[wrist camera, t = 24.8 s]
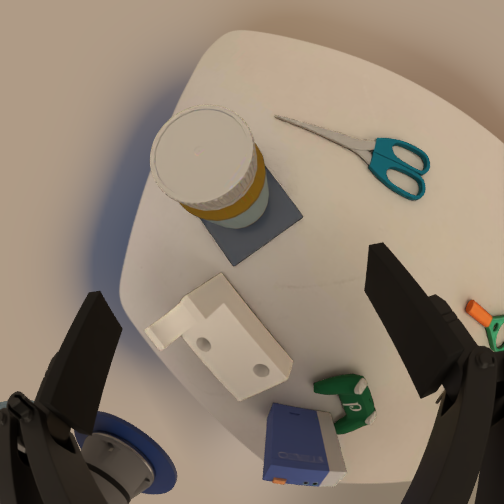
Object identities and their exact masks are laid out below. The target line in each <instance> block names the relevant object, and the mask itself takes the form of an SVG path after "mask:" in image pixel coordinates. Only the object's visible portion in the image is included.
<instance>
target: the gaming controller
mask: <svg viewBox="0 0 504 504" xmlns="http://www.w3.org/2000/svg"><path fill="white" fill-rule="evenodd" d="M314 392H315V393H319V394H324V395H335V394H338V395H339V398H340V400H341V403H342V405H343V408H344V410H345V413H346V416H344V417H343V418H341V419H339V420H338V421H336V422H335V423H334V427H335V430H336V434H338V435H339V434H345V433H348V432H351V431H354V430H356V429H358V428H360V427H362V426H365V425H371V424H372V423H373V422H374V420H375V418H376V409H375V407H374V403H373V399H372V396H371V393H370V390H369V388H368V386H367V381H366V379H365V378H364V376H360V375H356V374H345V375H339V376H335V377H330V378H327V379H324V380H321V381H318V382H316V383H314Z"/></svg>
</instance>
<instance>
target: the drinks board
mask: <svg viewBox="0 0 504 504" xmlns="http://www.w3.org/2000/svg"><path fill="white" fill-rule="evenodd" d="M265 169H266V176H267V183H268V191H269V197H268V204H267V207H266V209H265V211H264V213H263V215H262V216H261V217H260V218H259V219H258V220H257V221H256V222H254V223H253V224H251V225H249V226H247V227H243V228H238V229H234V228H226V227H223V226H220V225H217V224H215V223H212V222H209V221H207V220H204V219H202V218H200V219H201V221H202V222H203V223H204V225H205V226H206V228H207V229H208V231H209V232H210V234H211V235H212V236H213V238H214V239H215V241H216V242H217V244H218V245H219V247H220V248H221V249H222V251H223V252H224V254H225V255H226V257H227V258H228V259H229V261H230V262H231V264H232V265H233V266H236V265H237V264H238V263H240V262H241V261H243V260H244V259H245V258H247V257H248V256H250V255H251V254H252V253H254V252H255V251H257V250H258V249H259V248H261V247H262V246H264V245H265V244H266V243H268V242H269V241H271V240H272V239H273V238H275V237H276V236H278V235H279V234H280V233H282V232H283V231H285V230H286V229H287V228H289V227H290V226H291V225H293V224H294V223H296V222H297V221H298V220H300V219H301V218H303V216H302V214H301V213H300V211H299V210H298V209H297V207H296V206H295V205H294V203H293V202H292V201H291V199H290V198H289V197H288V195H287V194H286V192H285V191H284V190H283V189H282V187H281V186H280V185H279V183H278V182H277V181H276V179H275V178H274V177H273V175H272V174H271V173H270V172H269V170H268V169H267V168H266V166H265Z"/></svg>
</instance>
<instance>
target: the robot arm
mask: <svg viewBox="0 0 504 504" xmlns="http://www.w3.org/2000/svg"><path fill="white" fill-rule="evenodd" d="M364 291H365V293H366V295H367V296H368V298H369V300H370V301H371V303H372V305H373V307H374V308H375V310H376V312H377V314H378V315H379V317H380V319H381V321H382V323H383V325H384V326H385V328H386V330H387V332H388V334H389V336H390V337H391V339H392V341H393V343H394V345H395V347H396V349H397V351H398V353H399V355H400V357H401V359H402V361H403V363H404V365H405V367H406V369H407V371H408V373H409V375H410V377H411V379H412V381H413V383H414V385H415V388H416V390H417V392H418V394H419V396H420V398H421V399H422V398H424V397H426V396H428V395H430V394H432V393H435V392H436V391H437V390H438V389H439V387H440V386H441V384H442V385H443V387H444V389H445V390H444V391H443V393H442V394H441V395H440V396H439V398H438V399H437V401H436V403H437V404H438V403H439V402H440V400H441V402H440V406H439V410H438V413H437V417H436V420H435V423H434V427H433V430H432V433H431V436H430V439H429V441H428V444H427V447H426V450H425V452H424V455H423V457H422V460H421V462H420V465H419V467H418V469H417V472H416V474H415V476H414V478H413V480H412V483H411V485H410V487H409V489H408V491H407V493H406V495H405V497H404V498H403V500H402V502H401V504H468V501H469V499H470V496H471V494H472V491H473V488H474V486H475V483H476V480H477V477H478V474H479V471H480V474H479V481H478V488H477V493H476V499H475V504H504V351H498V352H493V351H492V350H491V349H490V348H487V347H485V346H478V345H477V344H476V342H475V341H474V340H473V338H472V337H471V335H470V334H469V332H468V331H467V329H466V328H465V327H464V325H463V324H462V322H461V321H460V320H459V319H458V318H457V316H456V314H455V313H454V312H452V309H451V308H450V306H449V305H448V304H447V303H446V301H445V300H443V299H442V298H440V297H439V296H437V295H436V294H435V295H432V296H429V297H428V296H427V295H426V293H425V292H424V291H423V290H422V288H421V287H420V286H419V284H418V283H417V282H416V281H415V279H414V278H413V277H412V276H411V274H410V273H409V272H408V271H407V270H406V268H405V267H404V266H403V265H402V264H401V262H400V261H399V260H398V259H397V258H396V257H395V255H394V254H393V253H392V252H391V251H390V250H389V249H388V247H387V246H386V245H385V244H384V243H383V242H382V243H377V244H372V245H369V251H368V262H367V272H366V281H365V290H364ZM121 332H122V327H121V326H120V324H119V322H118V321H117V319H116V317H115V316H114V314H113V313H112V311H111V309H110V307H109V306H108V304H107V302H106V301H105V299H104V297H103V295H102V293H101V292H100V291H96V292H89V293H88V295H87V297H86V299H85V301H84V302H83V304H82V306H81V308H80V310H79V311H78V313H77V315H76V317H75V319H74V321H73V323H72V325H71V327H70V329H69V331H68V333H67V335H66V337H65V339H64V341H63V343H62V345H61V347H60V350H59V352H57V353H56V354H55V356H54V357H53V358H52V360H51V362H50V364H49V366H48V370H47V371H46V373H45V377H44V378H43V381H42V383H41V385H40V388H39V391H38V393H37V396H36V399H35V401H32V400H29V399H28V398H27V397H26V396H25V395H24V394H22V393H21V392H18V391H17V392H15V393H13V394H12V395H11V396H10V398H9V399H8V401H4V402H0V504H129V502H130V501H131V499H132V498H134V497H135V496H137V495H138V494H140V493H141V492H143V491H144V490H146V489H147V488H148V487H150V486H151V485H152V483H153V482H154V480H155V478H156V471H155V468H154V466H153V464H152V463H151V461H150V460H149V459H148V458H147V456H146V455H145V454H144V453H143V452H142V451H140V450H139V449H138V448H137V447H136V446H134V445H133V444H132V443H130V442H129V441H127V440H125V439H124V438H122V437H120V436H118V435H116V434H114V433H111V432H108V431H103V430H96V431H93V428H94V424H95V420H96V416H97V412H98V408H99V404H100V400H101V396H102V392H103V389H104V386H105V382H106V378H107V375H108V372H109V369H110V366H111V362H112V359H113V356H114V353H115V350H116V347H117V344H118V341H119V338H120V335H121ZM71 428H73V429H74V430H75V431H77V432H78V433H80V434H85V435H88V436H87V437H86V439H85V441H84V444H83V447H82V449H81V451H80V449H79V447H78V444H77V442H76V440H75V437H74V435H73V434H72V433H71V432H70V430H71Z"/></svg>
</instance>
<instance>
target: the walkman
mask: <svg viewBox="0 0 504 504" xmlns="http://www.w3.org/2000/svg"><path fill="white" fill-rule="evenodd" d="M346 474H347V470H346V466H345V463H344V459H343V456H342V452H341V447H340V444H339V440H338V437H337V434H336V430H335V427H334V424H333V420H332V417H331V414H330V412H323V411H315V410H309V409H303V408H298V407H292V406H287V405H282V404H278V403H273V405H272V407H271V410H270V412H269V415H268V417H267V429H266V442H265V455H264V468H263V480H266V481H272V482H273V483H276V484H283V485H284V484H285V483H287V484H296V485H306V486H323V487H324V486H325V487H335V485H336V484H337V483H338V482H339V480H342V479H343V478H344V476H345V475H346Z"/></svg>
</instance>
